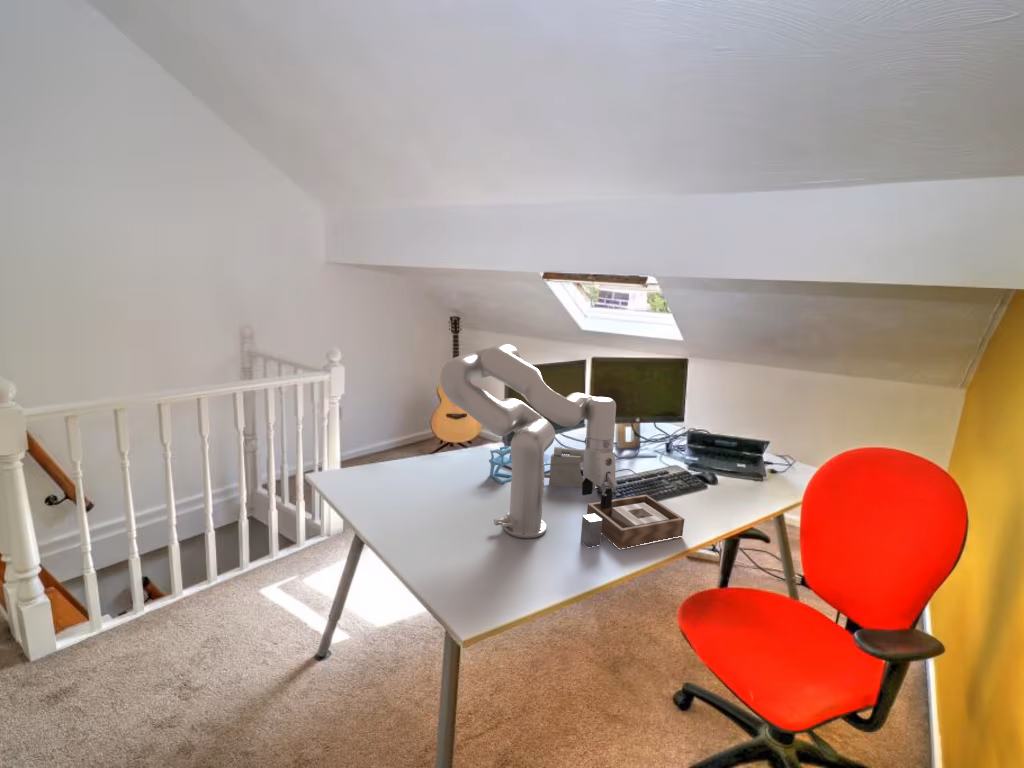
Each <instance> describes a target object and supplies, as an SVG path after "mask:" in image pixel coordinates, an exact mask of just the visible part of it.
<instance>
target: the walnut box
mask: <svg viewBox="0 0 1024 768" xmlns="http://www.w3.org/2000/svg"><path fill="white" fill-rule="evenodd" d="M600 506H601V501H596V502H590V503H587V507H586V508H587V510H586V515H590V514H596V515H597V516H598V517H599V518H601V519H602V529H601V533H602V534H603V535H604V536H605V537H606V538H607V539H609V540H610V541H611V542H612V543H614V544H615V545H616V546H617V547H618V548H620V549H622V548H627V547H631V546H636V545H640V544H644V543H649V542H653V541H658V540H663V539H668V538H673V537H678V536H682V537H683V534H684V525H685V518H683V517H682V516H680V515H679V514H678V513H676V512H674V511H673V510H671V509H669V508H668V507H667V506H665V505H663V504H662V503H660V502H659V501H657V500H656V499H654V498H653V497H652V496H649V495H648V494H642V495H636V496H635V495H634V496H627V497H622V498H615V499H612V506H611V508H607V509H601V508H600ZM603 535H602V536H603ZM604 536H603V537H604ZM605 537H604V538H605ZM606 538H605V539H606ZM609 540H608V541H609ZM610 541H609V542H610ZM611 542H610V543H611ZM612 543H611V544H612ZM616 546H615V547H616ZM617 547H616V548H617ZM618 548H617V549H618Z"/></svg>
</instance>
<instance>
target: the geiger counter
mask: <svg viewBox="0 0 1024 768" xmlns="http://www.w3.org/2000/svg"><path fill="white" fill-rule="evenodd" d="M584 452H585V449H579V448H578V449H577V448H564V447H563V446H554V449H553V453H552V454H551V455H550V463H544V467H545V466H549V474H548V473H544V479H548V481H549V482H548V483H549V486H554V485H555V486H557V487H566V486H567V487H566V488H577V489H578V488H580V489H582V482H583V481H582V479H581V478H582V475H581V468H580V463H581V462H583V460H584ZM595 485H596V484H595V483H593V488H595Z"/></svg>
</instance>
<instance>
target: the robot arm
mask: <svg viewBox="0 0 1024 768" xmlns="http://www.w3.org/2000/svg"><path fill="white" fill-rule="evenodd" d="M439 375H440V376H439V378H440V379H439V381H440V385H441V386H440V387H441V389H442V391H443V393H444V395H445V396H446V397H447V399H448V400H449V401H450V402H451V403H452V404H454V405H455V406H456V407H458V408H459V409H461V410H462V411H463V412H464V413H466V414H468V415H469V416H470V417H472V419H474V420H475V421H476V422H478V423H479V424H480V425H482V427H484V428H485V429H487V430H488V431H489V432H491V433H492V434H494V435H495V436H498V437H504V436H507V435H509V434H511V433H512V432H514V435H513V437H512V438H511V441H510V448H511V453H510V454H511V458H512V463H511V475H512V476H511V481H510V484H511V485H510V499H509V500H510V502H509V512H506V516H505V515H504V516H503V517H499V518H494V519H493V524H494V526H496V527H497V526H501V528H502V529H503V530H505V532H506V533H507V534H508V535H510V536H513V537H516V538H520V539H535V538H539V537H541V536H542V535H544V534H545V533H546V532H547V524H546V523H545V521H544V520H543V519H542V518H543V516H542V515H543V505H544V504H543V502H544V489H545V488H544V487H545V486H544V485H545V478H544V474H545V466H544V464H545V460H544V459H545V458H544V456H545V452H546V451H547V450H548V449H549V448H550V447H551V446H552V444H553V443H554V441H555V439H556V431H555V428H554V427H553V425H552V423H550V422H549V421H551V422H553V423H554V424H557V425H559V426H561V427H564V428H572V427H575V426H577V425H578V424H579V423H580V422H581V421H584V420H585V421H586V432H585V434H586V436H585V438H586V445H585V447H584V450H585V452H584V460H583V462H581V463H580V468H581V475H582V478H581V479H582V481H583V482H582V488H581V495H582V496H589V495H592V494H593V490H594V489H593V483H595V484H596V485H598V486H600V487H601V489H600V490H601V493H602V494H601V495H600V502H601V506H600V508H601V509H607V508H611V506H612V500H613V496H614V494H615V493H616V490H617V488H618V486H619V484H618V482H617V481H616V473H617V472H616V467H617V465H616V455H615V454H616V453H615V450H614V444H615V443H614V442H615V430H616V429H615V427H616V416H617V415H616V414H617V413H616V412H617V403H616V401H615V400H614V399H612V398H611V397H606V396H592V395H588V394H585V393H582V392H572V393H570V394H568V395H567V396H564V395H562V394H560V393H558V392H556V391H554V390H553V389H552V388H550V386H548V385H547V384H546V382H545V381H544V380H543V376H542V373H541V371H540V370H539V369H538V368H537V367H535V366H533V365H532V364H530V363H528V362H526V361H524V360H523V359H522V358H521V356H520V353H519V351H518V350H517V348H516V347H515V346H514V345H511V344H508V343H499V344H498V345H494V346H492V347H491V346H490V347H487V348H483V349H480V350H475V351H472V352H469V353H464V354H462V355H458V356H455V357H453V358H451V359H449V360H448V361H446V362H445V363H444V364H443V366H442V367H441V371H440V374H439ZM487 377H492V378H493V379H495V380H497V381H499V382H500V383H502V384H503V385H505V386H506V387H508V388H510V389H512V390H513V391H515V392H516V393H519V394H520V395H521V396H522V397H524V399H525V400H526V401H527V403H528V404H530V406H531V407H532V408H531V407H530V406H529V405H527V404H526V403H525V402H523V401H522V400H519V399H517V398H513V397H508V398H507V397H506V398H504V399H502V400H499V399H498V398H496V397H494V396H493V395H491V394H490V393H489V392H488V391H487V390H485V389H484V388H481V387H479V386H476V385H475V384H473V382H474V381H477V380H480V379H483V378H487ZM546 418H547V419H548V420H547V419H546ZM604 482H606V484H603V483H604ZM606 487H607V489H606Z"/></svg>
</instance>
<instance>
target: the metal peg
mask: <svg viewBox="0 0 1024 768" xmlns="http://www.w3.org/2000/svg"><path fill="white" fill-rule="evenodd" d="M601 529H602V519H601V518H599V517H598V516H597V515H596V514H590V515H587V514H585V515H582V520H581V531H580V532H581V533H580V543H582V544H583V543H584V544H585V545H586V546H587V547H591V548H593V547H592V546H596V547H598V546H597V545H600V546H601V540H602V538H601V536H602V535H601ZM584 544H583V545H584ZM585 545H584V546H585ZM586 546H585V547H586ZM587 547H586V548H587Z"/></svg>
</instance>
